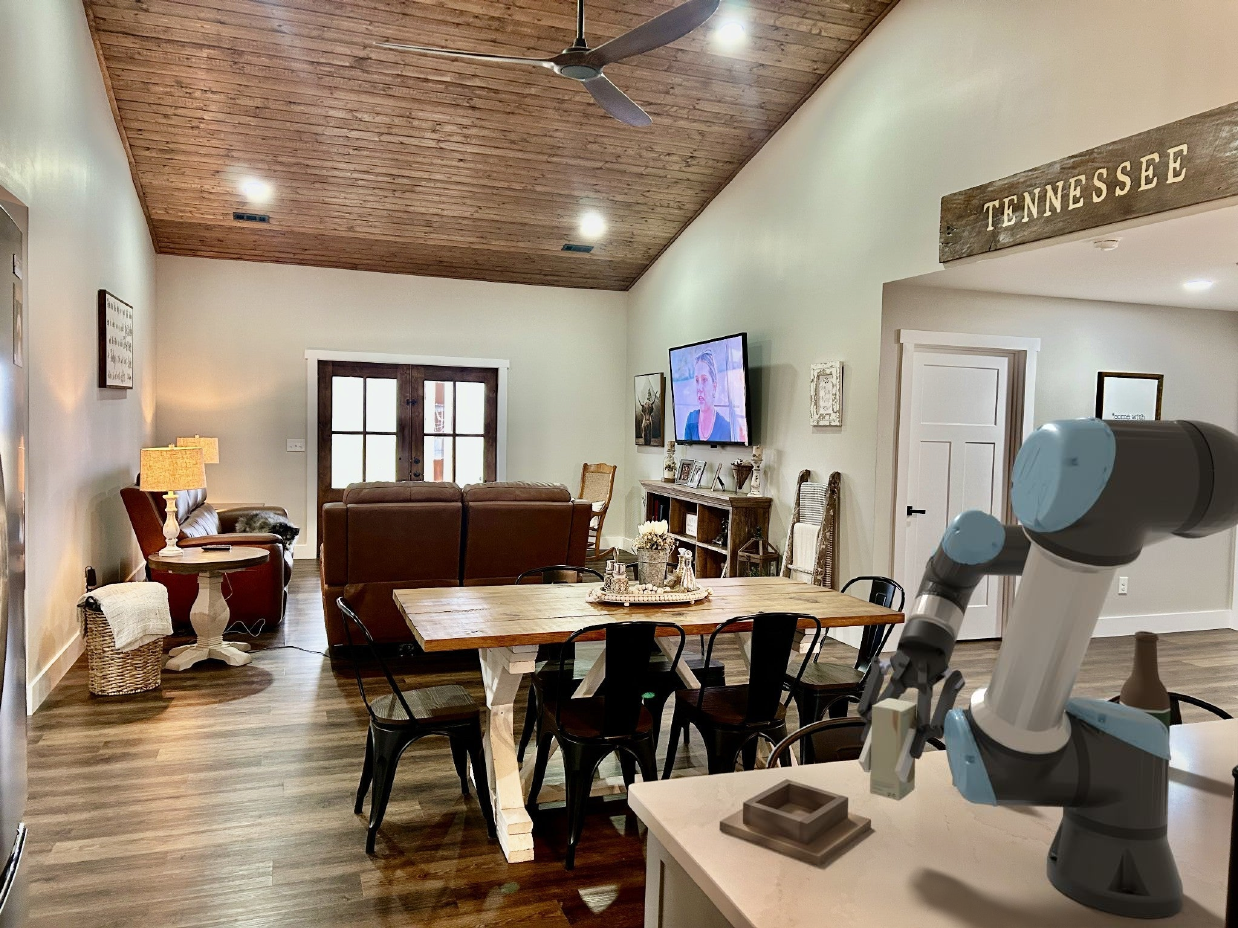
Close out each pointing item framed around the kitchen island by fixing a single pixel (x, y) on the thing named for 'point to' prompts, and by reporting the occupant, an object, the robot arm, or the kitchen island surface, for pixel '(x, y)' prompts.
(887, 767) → the skincare box
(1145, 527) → the robot arm
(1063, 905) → the kitchen island surface
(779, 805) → the walnut box stand
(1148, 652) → the beer bottle
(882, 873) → the kitchen island surface
